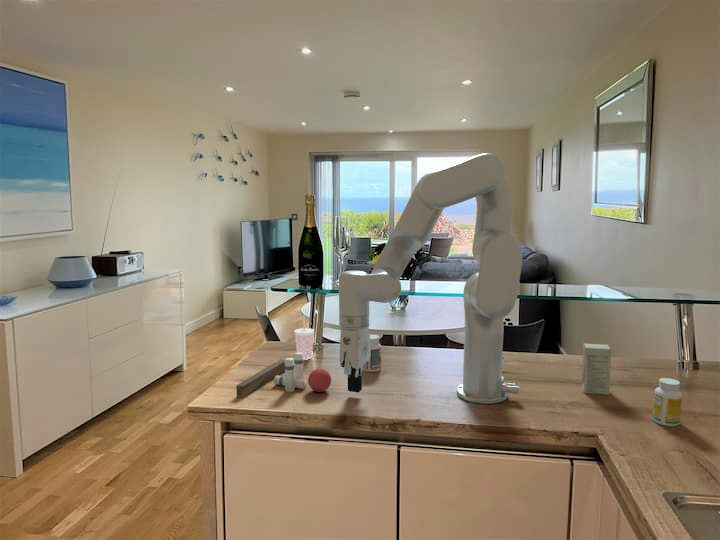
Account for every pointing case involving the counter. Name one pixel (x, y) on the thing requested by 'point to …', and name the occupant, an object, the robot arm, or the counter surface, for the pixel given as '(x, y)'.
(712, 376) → the counter surface
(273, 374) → the back rail
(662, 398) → the supplement bottle
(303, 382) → the pin front
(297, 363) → the pin rear right
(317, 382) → the ball
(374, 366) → the pill bottle
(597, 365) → the skincare box
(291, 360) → the pin rear left
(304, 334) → the beverage cup
